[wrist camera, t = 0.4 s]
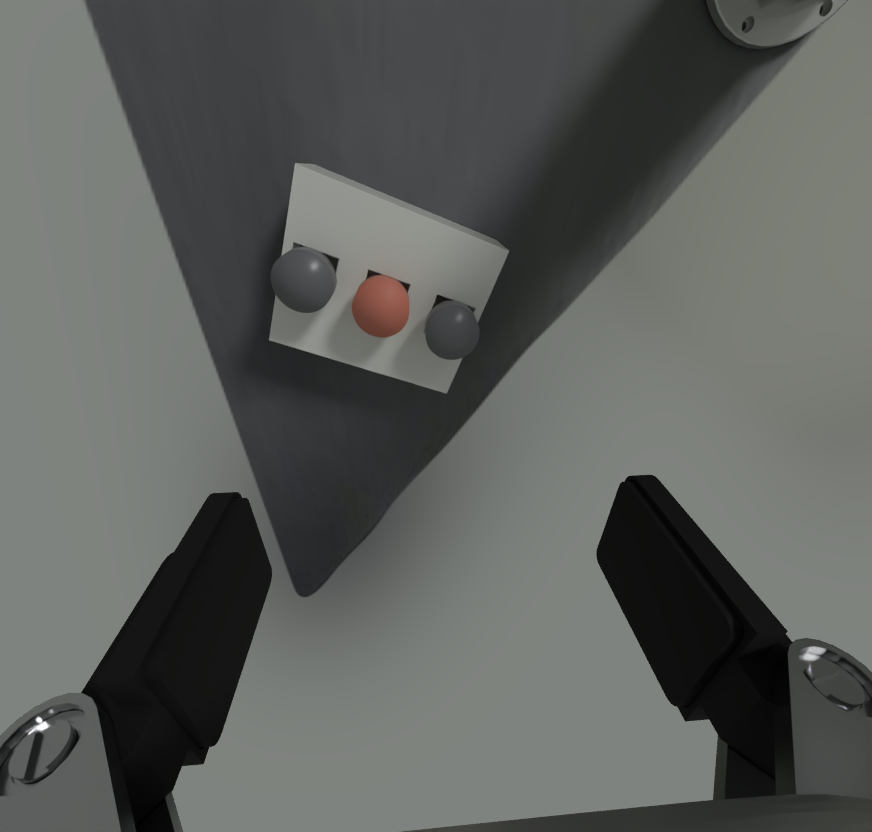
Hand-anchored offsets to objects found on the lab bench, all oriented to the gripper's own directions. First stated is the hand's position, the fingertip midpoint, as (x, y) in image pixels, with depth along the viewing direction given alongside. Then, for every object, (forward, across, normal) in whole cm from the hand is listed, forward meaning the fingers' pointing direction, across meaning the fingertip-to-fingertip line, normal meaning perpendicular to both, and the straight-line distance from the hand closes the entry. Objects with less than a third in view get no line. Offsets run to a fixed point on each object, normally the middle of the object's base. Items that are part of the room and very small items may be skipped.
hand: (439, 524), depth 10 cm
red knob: (+28, +2, +1) cm, 28 cm away
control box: (+32, +2, +1) cm, 32 cm away
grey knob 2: (+28, -3, +3) cm, 28 cm away
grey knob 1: (+28, +8, -1) cm, 29 cm away
